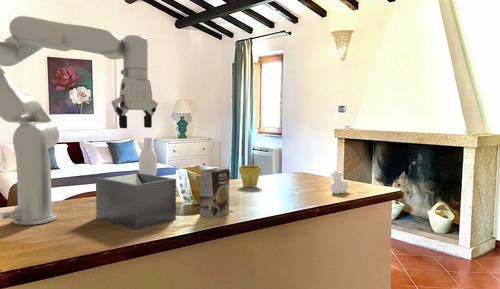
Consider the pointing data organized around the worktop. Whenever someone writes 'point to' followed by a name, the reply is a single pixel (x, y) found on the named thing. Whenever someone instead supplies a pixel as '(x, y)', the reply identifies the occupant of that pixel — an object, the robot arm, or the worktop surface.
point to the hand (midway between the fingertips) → (135, 127)
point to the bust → (338, 183)
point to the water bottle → (148, 158)
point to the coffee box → (214, 193)
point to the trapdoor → (127, 179)
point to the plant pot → (249, 175)
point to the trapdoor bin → (136, 201)
